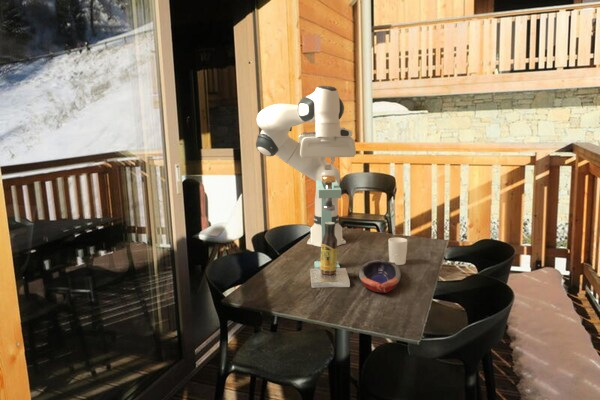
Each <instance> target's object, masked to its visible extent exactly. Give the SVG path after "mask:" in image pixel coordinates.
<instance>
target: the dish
mask: <svg viewBox="0 0 600 400" xmlns="http://www.w3.org/2000/svg"><path fill="white" fill-rule="evenodd" d="M358 277H359V279H360V282H361V284H362V285H363V287H365V288H366V289H369V291H372V292H377V293H380V294H381V293H383V294H385V293H389V292H391V291H392V290H394V289H395V288H397V286H398V285H399V282H400V280H401V278H402V274H401V270H400V268H399V267H398V265H396V264H395V262H393V263H392V262H389V260H384V259H375V260H370V261H368V262H365V263H363V265H362V266H360V269H359V271H358Z"/></svg>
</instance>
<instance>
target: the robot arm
mask: <svg viewBox="0 0 600 400" xmlns="http://www.w3.org/2000/svg"><path fill="white" fill-rule="evenodd" d="M339 95H340V93H339V91H338V89H337V88H336V87H335V86H331V85H329V86H328V85H319V86H317V87H316V88H315V90H314V91H313V92H312V93H310V94H308V95H306V96H304V97H302V98H301V99H300V100H299V102H298V104H289V103H276V104H275V103H274V104H271V105H268V106H266V107H264V108H263V109H261V110H260V111H259V112H258V114H257V116H256V124H257V127H259V129H261V131H260V133H259V134H257V138H256V142H255V147H256V149H257V151H259V153H261V154H262V155H264V156H265V157H273V156H275V155H276V157H277V158H279V159H280V160H281V161H283V162H284V163H286V164H288V165H289V166H290V167H291V168H293V169H295V170H296V171H298V172H299V173H301V174H303V175H304V176H306V177H307V178H309V179H310V180H312V181H314V182H315V183H316V180H322V176H326V175H332V176H336V181H337V183H338V185H339V186H340V183H341V172H340V171H339V169H338V168H337V167H336V166H334V165H333V164H335V161H336V158H354V157H355V156H356V154H357V151H356V143H355V140H354V138H353V137H352V136H353V131H352V130H350V129H347V128H345V127H342V126H341V124H340V123H341V122H340V119H341V118H342V116H343V115H344V112H345V105H344V102H343V101H342V99H341V98H340V96H339ZM305 123H315V124H314V125H315V126H314V129H315V131H309V132H307V131H303V133H301V134H300V135H299V136H298V141H297V140H296V139H294V138H292V137H290V136H289V133H290V132H292V130H293V127H295V126H296V127H297V126H298V125H301V124H305ZM326 158H330V161H331V162H328V161H327V160H326ZM332 205H335V210H333V211H332V222H334V223H335V237H336V239H337V247H338V246H340V245H341V246H342V245H345V244H347V241H346V240H345V239H344V238H343V226H342V225H341V224H340V222H339V221H340V220H339V219H340V216H339V213H338V212H339V198H332ZM309 233H310V236H309V238H308V240H307V242H306V244H307V245H311V246H314V247H318V248H321V242H322V232H321V198H319V197H318V193H317V189H316V188H315V196H314V215H313V225H312V226H311V227H310V229H309Z"/></svg>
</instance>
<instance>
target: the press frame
mask: <svg viewBox="0 0 600 400" xmlns="http://www.w3.org/2000/svg"><path fill="white" fill-rule="evenodd" d="M316 189H317V193H318V197H319V198H321V232H322V240H323V237H324V234H325V222H332V211H325V210H323V205H326V198H338V199H341V198H342V188H341V187H340V185H338V183H337V181H336V182H333V183H332V189H326V183H324V182H322V180H316V182H315V190H316ZM320 263H321V260H319V261H318V260H316V261H314V264H313V265H314V269H320ZM337 268H341V266H340V263H339V260H337Z"/></svg>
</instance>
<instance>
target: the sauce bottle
mask: <svg viewBox="0 0 600 400" xmlns="http://www.w3.org/2000/svg"><path fill="white" fill-rule="evenodd" d="M320 261H321V263H320V268H321V273H323V274H326V275H331V274H335V273H336V268H337V261H338V246H337V239H336V237H335V223H334V222H325V234H324V237H323V240H322V242H321V247H320Z"/></svg>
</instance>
